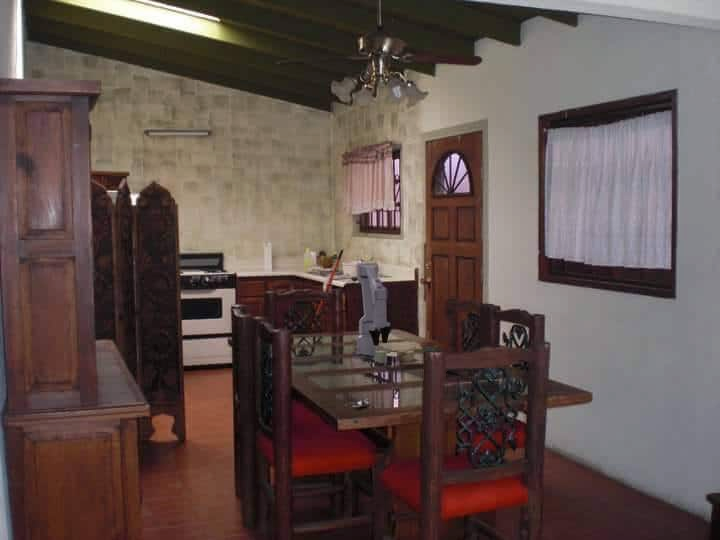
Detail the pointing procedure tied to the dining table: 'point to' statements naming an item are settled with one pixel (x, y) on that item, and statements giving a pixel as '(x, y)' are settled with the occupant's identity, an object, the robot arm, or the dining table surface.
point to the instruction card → (392, 354)
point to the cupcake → (429, 344)
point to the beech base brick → (405, 355)
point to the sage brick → (381, 356)
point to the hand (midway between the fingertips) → (380, 344)
